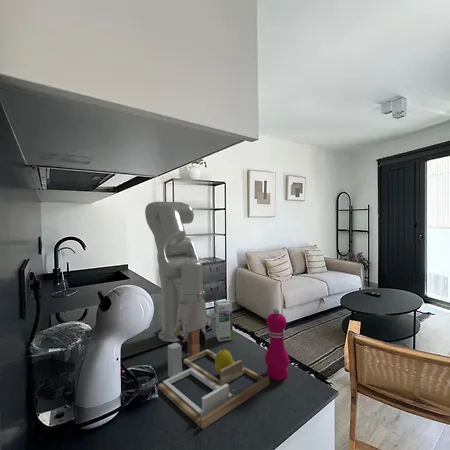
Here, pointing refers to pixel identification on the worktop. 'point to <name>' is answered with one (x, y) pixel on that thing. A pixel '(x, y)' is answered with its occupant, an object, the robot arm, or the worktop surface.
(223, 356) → the lemon
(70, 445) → the worktop surface
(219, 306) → the syrup box
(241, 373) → the frame
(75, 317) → the worktop surface
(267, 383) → the lane bed
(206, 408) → the frame
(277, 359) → the pepper mill
